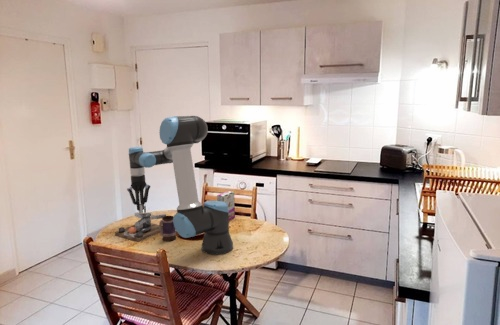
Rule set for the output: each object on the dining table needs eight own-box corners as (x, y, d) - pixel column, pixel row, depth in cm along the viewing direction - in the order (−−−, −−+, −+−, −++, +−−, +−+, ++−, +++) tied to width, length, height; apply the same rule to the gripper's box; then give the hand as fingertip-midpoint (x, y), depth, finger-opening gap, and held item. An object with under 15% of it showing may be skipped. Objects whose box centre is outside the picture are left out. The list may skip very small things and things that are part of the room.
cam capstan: (151, 219, 207) (150, 206, 206) (168, 226, 197) (167, 212, 195) (121, 229, 193) (120, 214, 192) (137, 236, 183) (136, 221, 181)
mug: (168, 235, 188) (167, 213, 186) (179, 237, 185) (177, 215, 183) (155, 242, 179) (153, 219, 177) (166, 244, 176) (165, 221, 174)
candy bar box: (228, 216, 217) (228, 190, 214) (235, 217, 214) (234, 191, 212) (217, 221, 208) (216, 194, 205) (224, 223, 205) (223, 196, 202)
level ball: (138, 233, 186) (137, 226, 185) (132, 236, 183) (131, 228, 182) (133, 232, 188) (132, 225, 187) (127, 234, 185) (126, 227, 184)
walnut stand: (166, 229, 197) (165, 223, 196) (138, 241, 180) (137, 235, 179) (143, 223, 206) (143, 218, 205) (115, 235, 189) (114, 229, 188)
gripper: (146, 172, 202) (149, 211, 206) (123, 175, 194) (127, 216, 198) (151, 174, 196) (154, 214, 200) (128, 177, 188) (132, 219, 192)
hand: (141, 215), depth 199 cm, fingers closed
